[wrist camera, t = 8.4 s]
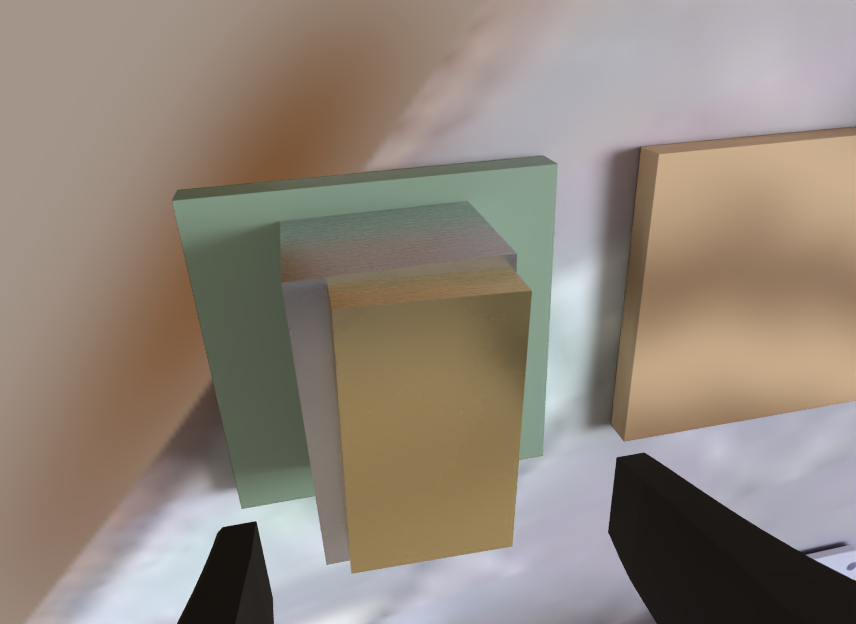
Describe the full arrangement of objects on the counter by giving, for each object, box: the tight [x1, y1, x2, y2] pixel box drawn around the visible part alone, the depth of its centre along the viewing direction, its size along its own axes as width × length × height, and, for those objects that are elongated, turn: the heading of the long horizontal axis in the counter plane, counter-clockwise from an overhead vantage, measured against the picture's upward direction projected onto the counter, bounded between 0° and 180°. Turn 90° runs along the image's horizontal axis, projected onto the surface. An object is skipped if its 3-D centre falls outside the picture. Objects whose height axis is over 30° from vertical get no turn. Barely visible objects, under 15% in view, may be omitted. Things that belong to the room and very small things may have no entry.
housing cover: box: [327, 268, 532, 573], centre depth 15 cm, size 4×7×1 cm, turn 0°
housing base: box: [280, 201, 517, 565], centre depth 17 cm, size 5×8×4 cm, turn 3°
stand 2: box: [611, 127, 856, 441], centre depth 21 cm, size 10×10×1 cm
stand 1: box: [172, 156, 558, 509], centre depth 19 cm, size 10×10×1 cm
